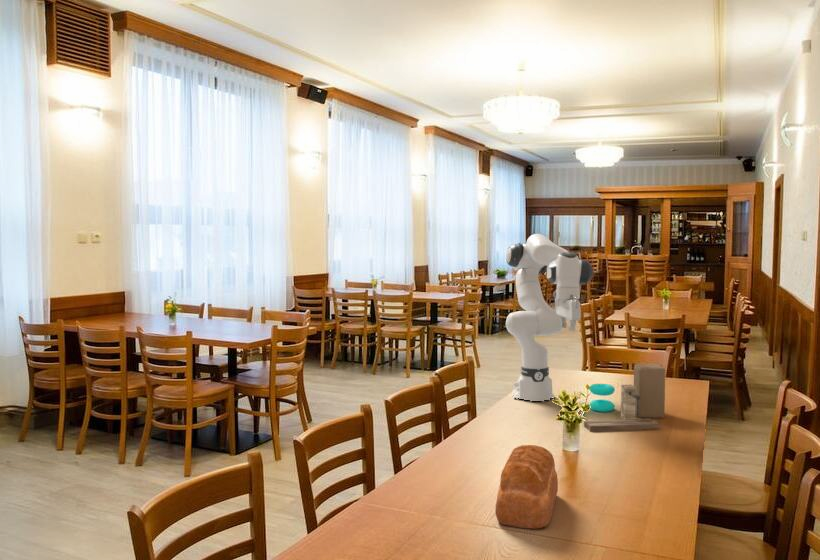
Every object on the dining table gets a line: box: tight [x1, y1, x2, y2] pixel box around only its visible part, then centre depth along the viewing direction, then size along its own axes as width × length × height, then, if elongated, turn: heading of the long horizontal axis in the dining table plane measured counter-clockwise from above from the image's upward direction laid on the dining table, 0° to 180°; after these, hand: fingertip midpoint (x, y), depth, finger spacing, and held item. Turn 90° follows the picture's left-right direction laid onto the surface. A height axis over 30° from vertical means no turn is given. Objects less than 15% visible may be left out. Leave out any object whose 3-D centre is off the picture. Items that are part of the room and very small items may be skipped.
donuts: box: [589, 383, 616, 413], centre depth 277 cm, size 10×10×10 cm
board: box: [583, 418, 660, 432], centre depth 251 cm, size 7×26×2 cm, turn 95°
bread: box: [495, 444, 559, 530], centre depth 177 cm, size 14×26×16 cm, turn 162°
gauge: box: [620, 384, 640, 420], centre depth 255 cm, size 11×4×14 cm, turn 5°
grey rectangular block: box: [633, 363, 666, 419], centre depth 267 cm, size 10×10×20 cm
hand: (567, 329), depth 264 cm, fingers open, 8 cm apart
